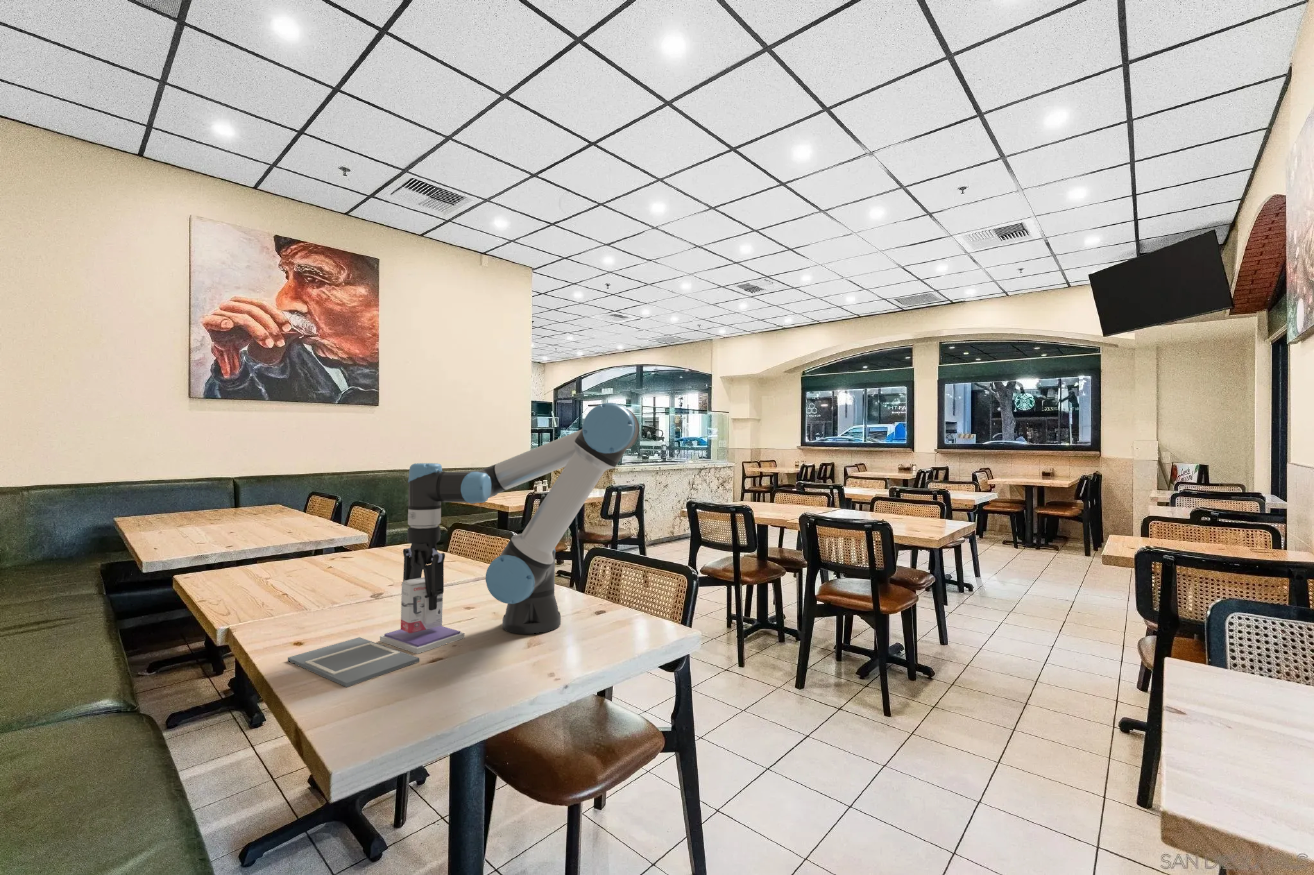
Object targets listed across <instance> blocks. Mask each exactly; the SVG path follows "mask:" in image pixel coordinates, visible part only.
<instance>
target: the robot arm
mask: <svg viewBox="0 0 1314 875" xmlns="http://www.w3.org/2000/svg"><path fill="white" fill-rule="evenodd" d="M639 436H640V424H639V420H638V418H637V416H636V415H635V414H634V412H632V411H631V410H630V409H628V408H626V407H625V406H623V405H621V404H619V403H616V402H615V403H614V402H605V403H601V404H599V405H596V406H594V407H593V408H592V409H591V410H589V411H588V412H587V414H586V416H585V418H584V419H583V423H582V428H581V429H579V430H577V431H574V432H573V433H570V434H567V435H565V436H562V437H560V438H557V439H555V440H551V441H550V442H547V443H544V444H542V445H540V446H537V447H534V448H532V449H529V450H527V451H526V452H523V453H520V454H517V455H515V456H512V457H510V458H508V459H505V460H503V461H500V462H498V463H496V464H492V465H490V466H488V467H485V468H482V469H480V470H470V471H445V470H444V471H443V467H442V464H440V463H438V462H437V463H436V462H434V463H433V462H424V463H423V462H418V463H413V464H411V465H410V466H409V470H408V480H407V483H408V506H407V508H408V510H407V511H408V513H407V525H408V526H409V527H408V528H407V535H406V536H407V537H406V538H407V539H406V541H407V543H409V544H411V545H410V547H407V548H404V549H403V550H402V553H403V575H402V576H403V577H402V578H403V579H402V582H404V581H405V580H410V579H416V578H422V574H423V575H424V577H425V584H426V591H427V595H426V596H425V605H424V624H430V623H433V622H436V608H437V596H438V595H439V594H443V595H444V591H445V590H444V588H445V587H444V583H445V582H444V575H445V574H444V570H445V569H444V567H445V566H444V563H445V560H446V559H445V557H446V554H445V553H444V552H442V553H440V551H438V548H437V543H439V541H440V540H441V527H440V526H439V525H441V523H442V503H463V504H464V503H465V504H470V505H471V504H477V503H478V504H482V503H486V502H487V501H488V499H489V498H493V497H494V496H497V495H498V494H500V493H503V492H506V491H507V490H510V489H512V488H515V487H517V486H519V485H523V484H524V483H528V482H530V481H532V480H534V479H537V478H539V477H542V476H545V475H547V474H550V473H552V472H555V471H558V470H560V469H562V468H563V470H562V471H561V472H560V474H559V476H558V477H557V478H556V481H555V482H554V484H553V485H552V486H551V488H550V490H549V491H548V492H547V494H546V496H545V498H544V499H543V500H542V501H541V503H540V505H539V507H538V508H537V509H536V511H535V512H534V514H533V515H532V517H531V519H529V522H528V524H527V525H526V527H525V528H524V529H523V531H522V533H518V534H514V535H512V537H511V538H510V540H509V541H508V543H507V545H506V546H505V547H504V549H503V550H502V551H501V554H500V555H499V556H496V558H494V559H493V560H492V561H491V562H490V564H489V565H488V567H487V568H486V573H485V583H486V587H487V588H486V589H487V590H488V592H489V593H490V595H491V596H492V597H493V598H494V599H495V600H496V601H498V602H501V603H503V604H507V605H506V608H505V614H504V615H503V617H502V629H503V630H504V631H506V632H507V633H511V634H517V635H534V633H536V634H540V633H539V632H543V633H547V632H550V630H551V631H553V629H554V630H555V629H558V628H559V627H560V626H561V622H562V618H561V617H562V616H561V612H560V611H559V608H558V603H557V600H556V595H555V579H556V578H555V574H556V571H555V570H556V569H555V568H556V567H555V566H556V564H555V563H556V562H555V561H556V546H557V545H558V544H559V542H560V541H561V539H562V538H563V536H564V535H565V533H566V531H568V529H569V527H570V525H571V524H572V523H573V521H574V519H575V518H576V516H577V515H578V513H579V512H580V510H581V509H582V507H583V505H584V504H585V503H586V501H587V499H588V498H589V497H590V495H591V493H592V492H593V490H594V488H595V487H596V485H597V484H598V482H599V481H600V479H601V478H602V476H603V475H604V473H605V472H606V471H608V470H611V469H615V468H616V466H617V465H618V463H619V462H620V460H621V459H622V457H623V456H624V454H625V453H626V451H627V450H629V449H631V448H632V447H633V446H634V445H635V443H636V442H637V440H638V438H639ZM559 625H560V626H559ZM557 627H558V628H557ZM546 631H547V632H546Z"/></svg>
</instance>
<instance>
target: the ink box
mask: <svg viewBox="0 0 1314 875" xmlns="http://www.w3.org/2000/svg"><path fill="white" fill-rule="evenodd" d="M426 595H427V591H426V584H425V577H421V578H416V579H410V580H405V581H404V582H403V581H402V582H401V596H400V597H401V599H400V600H401V602H400V629H401V630H404V631H406V632H408V633H413V632H418V631H422V630H426V629H430V628H435V627H439V626H443V605H444V604H443V603H444V602H443V600H444V593H443V594H439V595H438V596H437V608H436V622H433V623H430V624H424V605H425V596H426Z"/></svg>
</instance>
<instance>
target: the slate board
mask: <svg viewBox="0 0 1314 875" xmlns="http://www.w3.org/2000/svg"><path fill="white" fill-rule="evenodd" d="M289 661H290V662H289ZM287 662H289V663H291V662H292V663H291V664H293V663H295V664H296V666H298V665H299V666H298V667H300V666H302V667H303V668H302V667H301V668H302V669H304V668H306V669H305V670H307V669H308V670H307V671H309V670H310V671H309V672H311V671H312V672H311V673H313V672H315V673H314V674H316V675H319V676H320V675H321V676H320V677H323V678H325V679H327V680H329V681H332V682H334V683H336V684H338V685H340V684H341V686H343V687H346V688H349V687H351V686H354V685H357V684H359V683H362V682H365V681H368V680H371V679H373V678H377V677H379V676H382V675H385V674H387V673H388V674H389V673H391V672H393V671H396V670H399V669H402V668H405V667H408V666H411V665H414V664H416V663H419V662H420V657H417V656H415V655H412V654H409V653H406V652H404V651H400V650H398V649H394V648H392V647H390V646H385V645H383V644H380V643H378V642H375V641H372V640H369V639H366V638H364V637H360V636H359V637H355V638H352V639H348V640H345V641H341V642H338V643H334V644H331V645H327V646H323V647H320V648H317V649H313V650H309V651H306V652H302V653H299V654H295V655H291V656H289V657H287ZM295 664H294V665H295Z"/></svg>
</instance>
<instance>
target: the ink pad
mask: <svg viewBox="0 0 1314 875" xmlns="http://www.w3.org/2000/svg"><path fill="white" fill-rule="evenodd" d="M465 636H466V635H465V632H462V631H460V630H457V629H454V628H449V627H447V626H443V625H442V626H439V627H435V628H430V629H426V630H422V631H418V632H413V633H408V632H406V631H404V630H401V628H400V629H397V630H394V631H390V632H387V633H384V634H383V635H380V636H379V642H382V643H384V644H387V645H390V646H393V647H396V648H399V649H401V650H404V651H407V650H408V651H407V652H410V653H414V654H416V655H418V654H421V652H422V653H424V652H428V651H430V650H433V649H437V648H439V647H442V646H444V645H447V644H446V643H448V644H451V643H454V642H457V641H460V640H462V638H463V639H464V638H465ZM453 641H454V642H453ZM441 645H442V646H441Z"/></svg>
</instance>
